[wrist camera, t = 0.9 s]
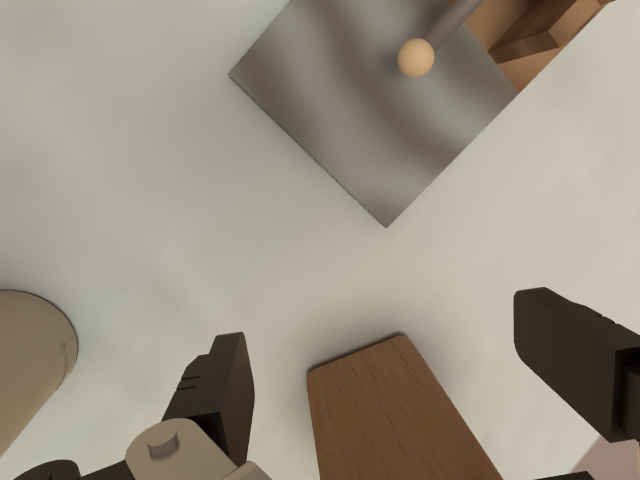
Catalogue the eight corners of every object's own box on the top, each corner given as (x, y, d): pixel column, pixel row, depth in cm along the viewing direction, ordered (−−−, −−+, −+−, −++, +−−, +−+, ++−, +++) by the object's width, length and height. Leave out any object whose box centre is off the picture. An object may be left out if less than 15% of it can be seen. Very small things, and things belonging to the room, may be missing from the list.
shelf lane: (506, -243, 25) (630, -436, 16) (632, -33, 29) (781, -99, 21) (229, 77, 28) (212, 54, 20) (381, 223, 33) (421, 258, 24)
